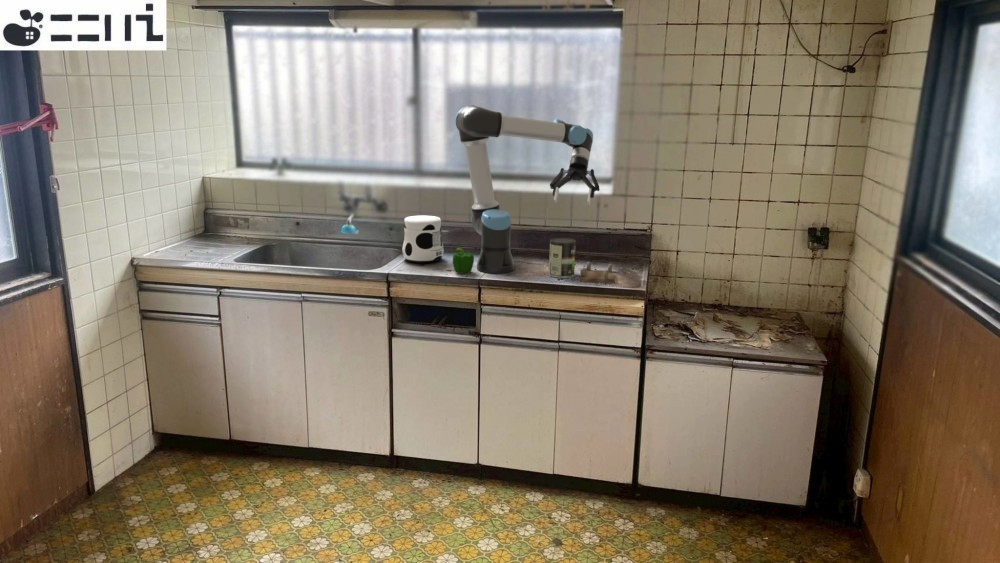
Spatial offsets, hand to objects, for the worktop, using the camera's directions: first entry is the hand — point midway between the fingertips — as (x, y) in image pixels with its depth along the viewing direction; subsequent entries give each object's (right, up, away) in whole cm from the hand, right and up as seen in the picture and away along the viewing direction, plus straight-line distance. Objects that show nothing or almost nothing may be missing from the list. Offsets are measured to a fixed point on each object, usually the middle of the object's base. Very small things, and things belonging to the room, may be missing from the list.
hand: (571, 202), depth 285 cm
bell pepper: (-43, -28, -1) cm, 52 cm away
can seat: (+9, -30, -6) cm, 32 cm away
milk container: (-61, -23, +17) cm, 68 cm away
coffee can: (-4, -29, -2) cm, 30 cm away
